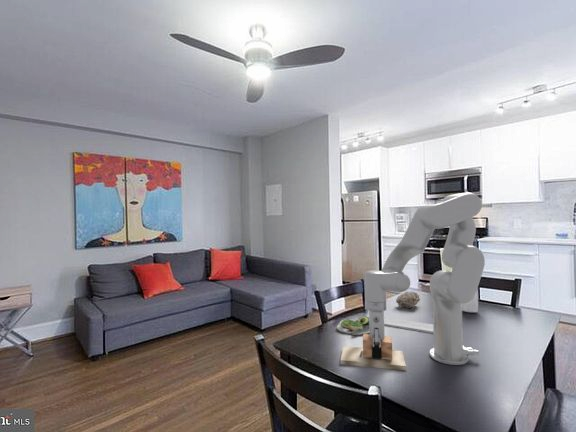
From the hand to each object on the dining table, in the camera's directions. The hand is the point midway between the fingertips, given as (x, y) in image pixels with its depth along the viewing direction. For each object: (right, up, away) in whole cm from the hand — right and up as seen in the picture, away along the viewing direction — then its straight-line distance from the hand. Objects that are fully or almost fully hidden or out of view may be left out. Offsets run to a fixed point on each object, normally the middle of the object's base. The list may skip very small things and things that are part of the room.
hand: (376, 353), depth 113 cm
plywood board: (-1, -2, +1) cm, 3 cm away
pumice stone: (+37, -2, +63) cm, 73 cm away
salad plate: (0, -3, +32) cm, 32 cm away
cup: (+64, -1, +50) cm, 81 cm away
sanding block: (0, 0, 0) cm, 1 cm away
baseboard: (+22, -3, +36) cm, 43 cm away
